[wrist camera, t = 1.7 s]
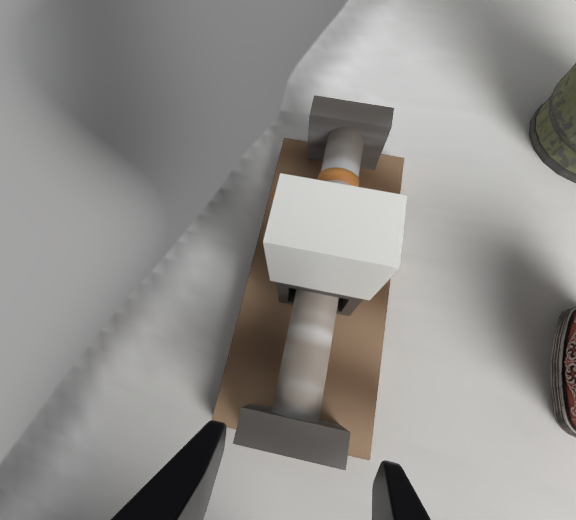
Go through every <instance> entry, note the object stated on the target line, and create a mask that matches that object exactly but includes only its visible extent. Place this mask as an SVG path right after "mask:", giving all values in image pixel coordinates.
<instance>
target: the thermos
mask: <svg viewBox="0 0 576 520" xmlns="http://www.w3.org/2000/svg"><path fill="white" fill-rule="evenodd" d="M529 135H530V138H531V141H532V144H533V148H534V150H535V151H536V152H537V154H538V155H539V157H540V158H541V159H542V161H543V162H544V163H545V164H546V165H547V166H549V167H550V168H551V169H552V170H554V171H555V172H556V173H557V174H559V175H561V176H563V177H565V178H567V179H569V180H571V181H573V182H575V183H576V64H575V65H574V66H573V67H572V68H571V69H570V70H569V72H568V73H567V74H566V75H565V76H564V77H563V78H562V79H561V81H560V82H559V83H558V84H557V86H556V87H555V89H554V91H553V93H552V95H551V97H550V98H549V99H548V100H547V101H546V102H545V103H544V104H542V105H541V106H540V107H539V108H538V110H537V111H536V112H535V114H534V116H533V118H532V120H531V121H530V133H529Z"/></svg>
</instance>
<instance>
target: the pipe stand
mask: <svg viewBox="0 0 576 520" xmlns="http://www.w3.org/2000/svg"><path fill="white" fill-rule="evenodd" d="M393 111H394V108H391V107H384V106H378V105H371V104H365V103H359V102H352V101H346V100H340V99H333V98H327V97H321V96H314V99H313V103H312V107H311V112H310V120H309V133H308V142H305V141H300V140H294V139H288V138H284V141H283V145H282V149H281V152H280V156H279V160H278V164H277V168H276V172H275V176H274V180H273V184H272V188H271V191H270V195H269V199H268V203H267V207H266V211H265V215H264V219H263V223H262V226H261V230H260V234H259V238H258V242H257V246H256V250H255V254H254V258H253V261H252V265H251V269H250V273H249V277H248V281H247V285H246V289H245V293H244V297H243V300H242V304H241V308H240V312H239V316H238V320H237V324H236V328H235V332H234V335H233V339H232V343H231V347H230V351H229V355H228V359H227V363H226V367H225V370H224V374H223V378H222V382H221V386H220V390H219V394H218V398H217V402H216V406H215V409H214V413H213V417H212V420H214V421H218V422H223V423H225V424H226V427H229V428H233V429H236V433H235V437H234V441H233V444H237V445H241V446H245V447H250V448H254V449H258V450H262V451H266V452H271V453H275V454H279V455H283V456H288V457H292V458H296V459H300V460H305V461H309V462H313V463H317V464H322V465H326V466H330V467H334V468H338V469H343V470H346V463H347V456H348V455H349V456H353V457H357V458H362V459H366V460H370V453H371V444H372V435H373V426H374V417H375V409H376V400H377V391H378V382H379V374H380V365H381V356H382V347H383V339H384V330H385V321H386V312H387V304H388V295H389V286H390V279H389V280H388V281H387V282H386V283H385V285H384V286H383V287H382V288H381V289H380V290H379V291H378V292H377V293H376V294H375V295H374V296H373V297H372V299H371V300H365V299H363V301H362V302H361V303H360V304H359V305H358V307H357V308H356V309H355V310H354V311H353V312H352V314H351V315H350V316H346V315H341V314H336V313H337V307H338V300H339V298H338V297H333V296H328V295H323V294H318V293H313V292H308V291H303V290H298V289H296V294H295V299H294V304H293V305H292V304H287V303H282V302H279V301H278V293H277V286H276V282H274V281H270V277H269V272H268V267H267V261H266V256H265V251H264V245H263V239H264V236H265V232H266V228H267V224H268V220H269V216H270V212H271V208H272V204H273V200H274V196H275V192H276V188H277V184H278V180H279V176H280V173H282V174H288V175H293V176H299V177H305V178H310V179H316V180H322V181H327V182H333V183H339V184H345V185H350V186H356V187H362V188H367V189H373V190H379V191H384V192H390V193H396V194H400V190H401V181H402V172H403V163H404V158H401V157H395V156H389V155H383V154H381V152H382V150H383V147H384V145H385V142H386V140H387V137H388V135H389V132H390V129H391V126H392V118H393Z"/></svg>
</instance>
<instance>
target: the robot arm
mask: <svg viewBox="0 0 576 520" xmlns="http://www.w3.org/2000/svg"><path fill="white" fill-rule="evenodd" d="M225 437H226V424H225V423H223V422H218V421H214V420H211V421H209V422H208V423H207V424H206V425H205V426H204V427H203V428H202V429H201V430H200V431H199V432H198V433H197V434H196V435H195V436H194V437H193V438H192V439H191V440H190V441H189V442H188V443H187V444H186V445H185V446H184V447H183V448H182V449H181V450H180V451H179V452H178V453H177V454H176V455H175V456H174V457H173V458H172V459H171V460H170V461H169V462H168V463H167V464H166V465H165V466H164V467H163V468H162V469H161V470H160V471H159V472H158V473H157V474H156V475H155V476H154V477H153V478H152V479H151V480H150V481H149V482H148V483H147V484H146V485H145V486H144V487H143V488H142V489H141V490H140V491H139V492H138V493H137V494H136V495H135V496H134V497H133V498H132V499H131V500H130V501H129V502H128V503H127V504H126V505H125V506H124V507H123V508H122V509H121V510H120V511H119V512H118V513H117V514H116V515H115V516H114V517H113V518H112V519H111V520H203V519H204V516H205V512H206V509H207V506H208V503H209V499H210V496H211V492H212V489H213V486H214V482H215V479H216V475H217V472H218V469H219V465H220V462H221V458H222V455H223V451H224V446H225ZM372 520H431V519H430V517H429V516H428V514H427V512H426V510H425V508H424V507H423V505H422V503H421V501H420V499H419V498H418V496H417V494H416V492H415V490H414V488H413V487H412V485H411V483H410V481H409V479H408V478H407V476H406V474H405V472H404V470H403V469H402V467H401V466H400V465H399V464H397V463H394V462H389V461H382V462H381V464H380V467H379V469H378V472H377V474H376V477H375V479H374V483H373V490H372Z"/></svg>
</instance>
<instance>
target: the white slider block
mask: <svg viewBox="0 0 576 520" xmlns="http://www.w3.org/2000/svg"><path fill="white" fill-rule="evenodd" d="M406 204H407V195H402V194H396V193H390V192H384V191H379V190H373V189H367V188H362V187H356V186H350V185H345V184H339V183H333V182H327V181H322V180H316V179H310V178H305V177H299V176H293V175H288V174H282V173H280V176H279V180H278V184H277V188H276V192H275V196H274V200H273V204H272V208H271V212H270V216H269V220H268V224H267V228H266V232H265V236H264V239H263V245H264V251H265V256H266V261H267V267H268V272H269V277H270V281H274V282H276V286H277V293H278V301H279V302H282V303H287V304H292V305H293V304H294V299H295V294H296V289H298V290H303V291H308V292H313V293H318V294H323V295H328V296H333V297H338V298H339V300H338V307H337V313H336V314H341V315H346V316H350V315H351V314H352V312H353V311H354V310H355V309H356V308H357V307H358V305H359V304H360V303H361V302H362V301H363V299H365V300H371V299H372V297H373V296H374V295H375V294H376V293H377V292H378V291H379V290H380V289H381V288H382V287H383V286H384V285H385V283H386V282H387V281H388V280H389V279H390V278H391V277H392V276H393V275H394V274H395V273H396V272H397V270H398V269H399V268H400V261H401V251H402V242H403V232H404V223H405V213H406Z"/></svg>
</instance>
